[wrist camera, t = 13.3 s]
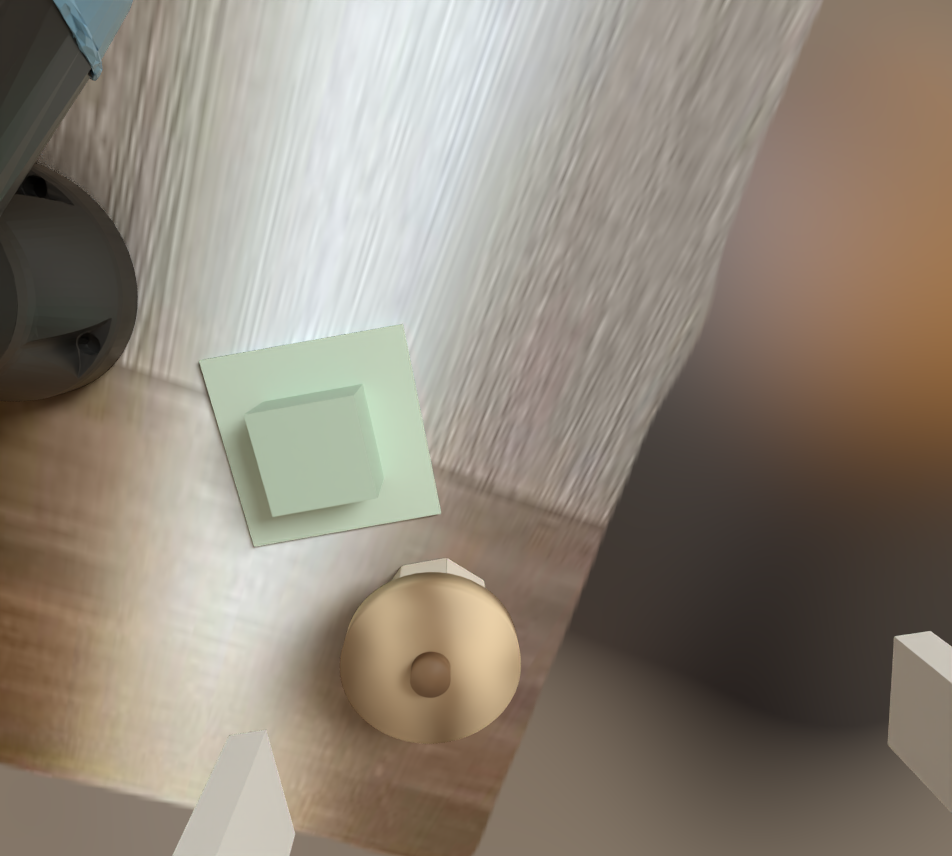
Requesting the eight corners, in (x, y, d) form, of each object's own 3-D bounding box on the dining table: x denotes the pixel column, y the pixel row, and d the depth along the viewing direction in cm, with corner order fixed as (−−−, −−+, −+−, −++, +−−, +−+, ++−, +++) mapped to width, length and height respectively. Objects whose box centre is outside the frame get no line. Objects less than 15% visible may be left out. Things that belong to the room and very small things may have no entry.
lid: (365, 735, 42) (359, 771, 39) (326, 589, 39) (316, 615, 36) (529, 706, 42) (535, 740, 39) (502, 557, 39) (507, 581, 36)
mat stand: (255, 544, 44) (234, 573, 39) (201, 359, 40) (171, 370, 36) (440, 511, 43) (440, 537, 39) (402, 324, 40) (397, 329, 36)
